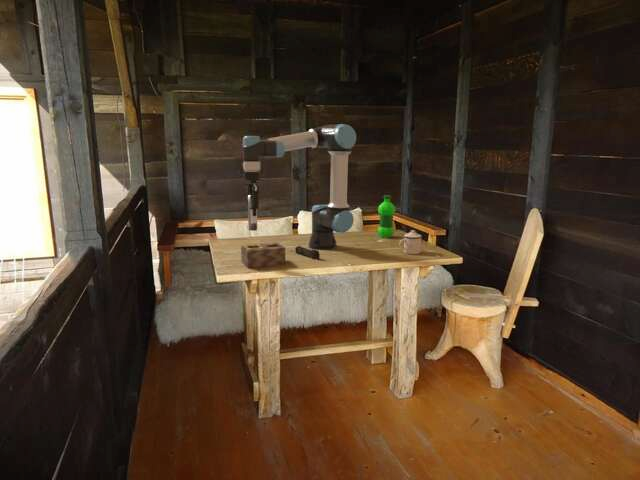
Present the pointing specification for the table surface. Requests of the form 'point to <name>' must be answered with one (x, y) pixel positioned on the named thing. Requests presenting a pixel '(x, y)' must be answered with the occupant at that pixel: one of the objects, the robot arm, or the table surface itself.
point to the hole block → (262, 255)
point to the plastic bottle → (386, 217)
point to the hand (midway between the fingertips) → (252, 222)
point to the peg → (250, 225)
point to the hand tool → (308, 252)
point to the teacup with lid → (411, 243)
